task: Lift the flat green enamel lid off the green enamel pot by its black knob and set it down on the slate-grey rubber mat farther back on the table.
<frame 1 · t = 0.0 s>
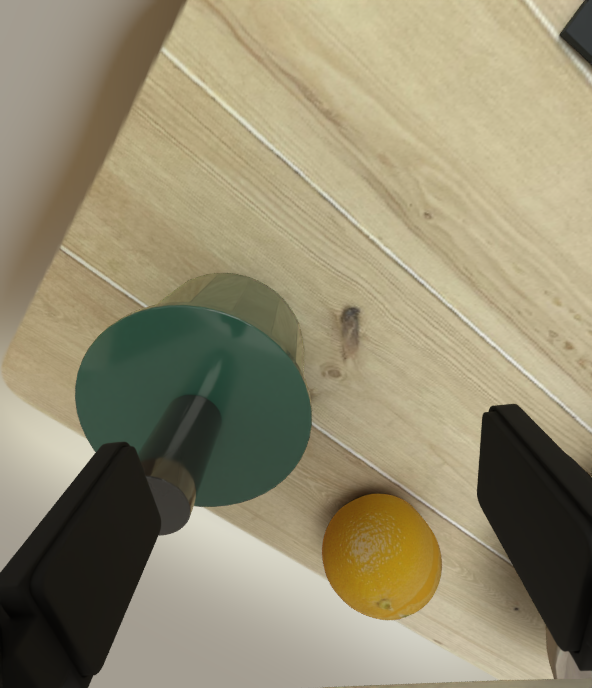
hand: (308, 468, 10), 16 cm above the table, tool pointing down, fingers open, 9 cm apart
pot: (229, 346, 27), on the table
lid: (197, 412, 19), point 8 cm above the table, touching pot
fruit: (370, 509, 33), on the table
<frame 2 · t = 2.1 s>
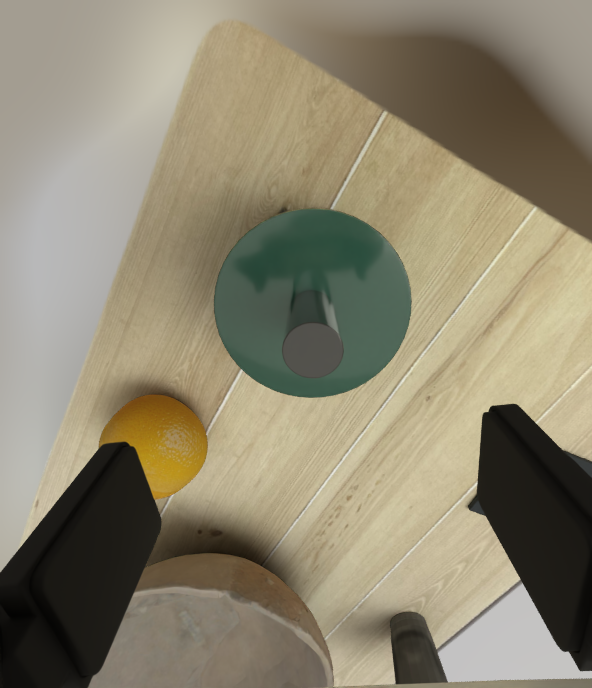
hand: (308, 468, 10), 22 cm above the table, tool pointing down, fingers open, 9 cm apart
mat: (537, 488, 38), on the table
bowl: (222, 582, 45), on the table
lid: (311, 309, 22), point 8 cm above the table, touching pot
fruit: (172, 417, 36), on the table
beverage cup: (407, 621, 47), on the table
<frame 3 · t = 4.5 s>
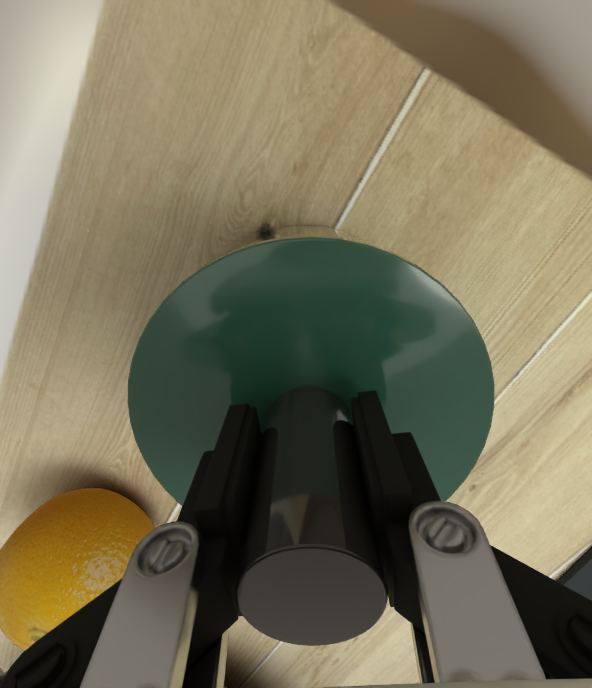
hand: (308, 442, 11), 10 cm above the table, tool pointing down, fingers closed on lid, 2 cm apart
pot: (307, 326, 20), on the table
lid: (308, 413, 12), point 9 cm above the table, touching gripper, pot
fruit: (115, 510, 26), on the table
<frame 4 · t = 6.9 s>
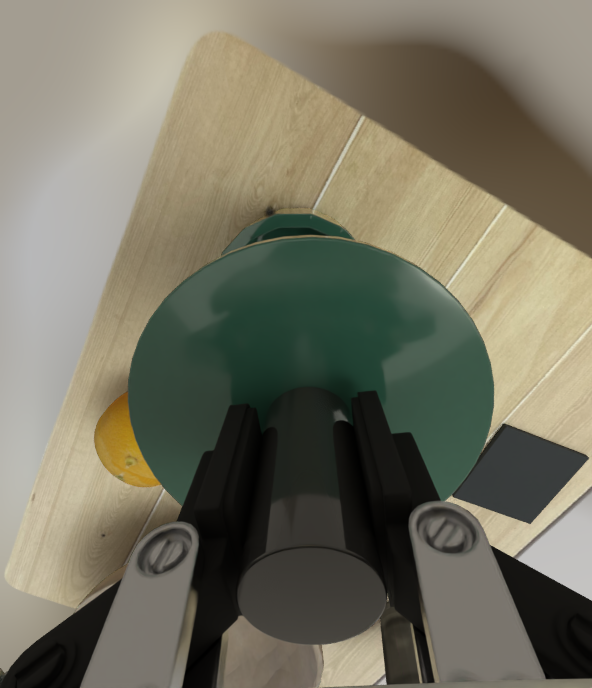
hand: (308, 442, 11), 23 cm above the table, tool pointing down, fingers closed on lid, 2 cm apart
mat: (516, 474, 40), on the table
bowl: (215, 573, 47), on the table
pot: (296, 273, 32), on the table
lid: (308, 413, 12), point 21 cm above the table, touching gripper
fruit: (165, 410, 38), on the table
beverage cup: (396, 609, 49), on the table
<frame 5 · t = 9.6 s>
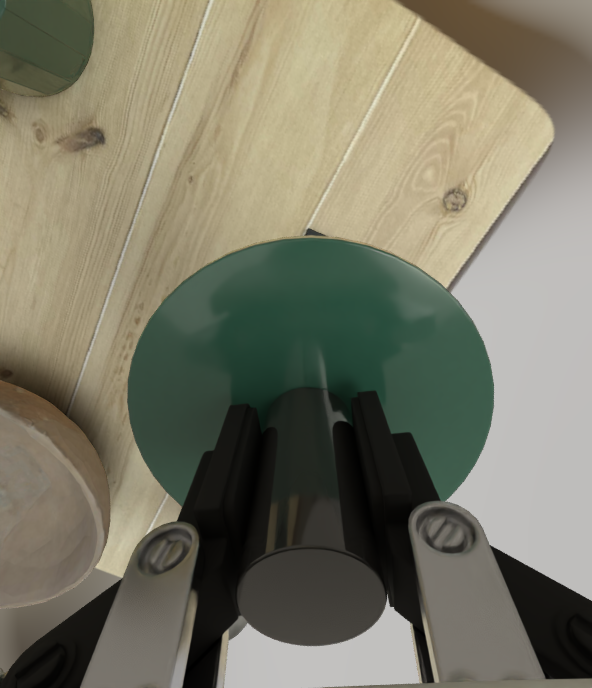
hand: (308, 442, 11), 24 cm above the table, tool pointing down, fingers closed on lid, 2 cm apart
bowl: (30, 441, 42), on the table
pot: (19, 9, 27), on the table
lid: (308, 414, 12), point 23 cm above the table, touching gripper
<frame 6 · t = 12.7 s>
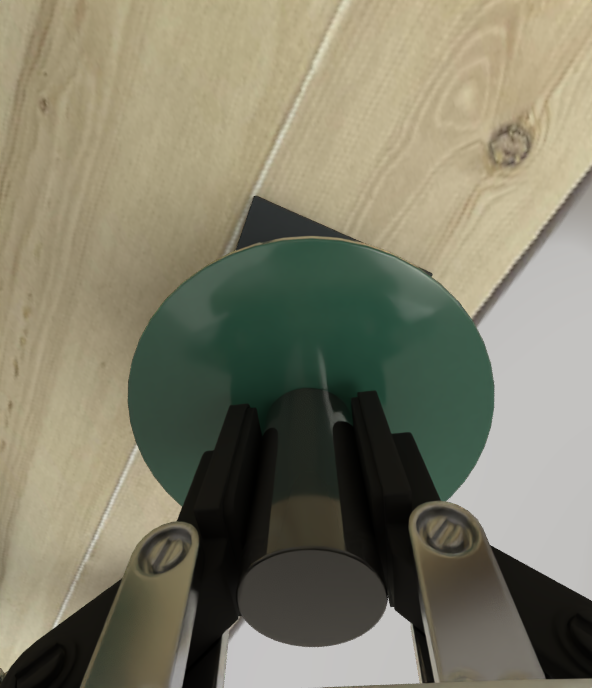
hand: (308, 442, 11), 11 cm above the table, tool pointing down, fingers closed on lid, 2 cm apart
mat: (307, 319, 21), on the table
lid: (308, 414, 12), point 9 cm above the table, touching gripper
when the fingers open (3 cm above the table, at t = 14.8 s): lid stays where it is, resting on mat.
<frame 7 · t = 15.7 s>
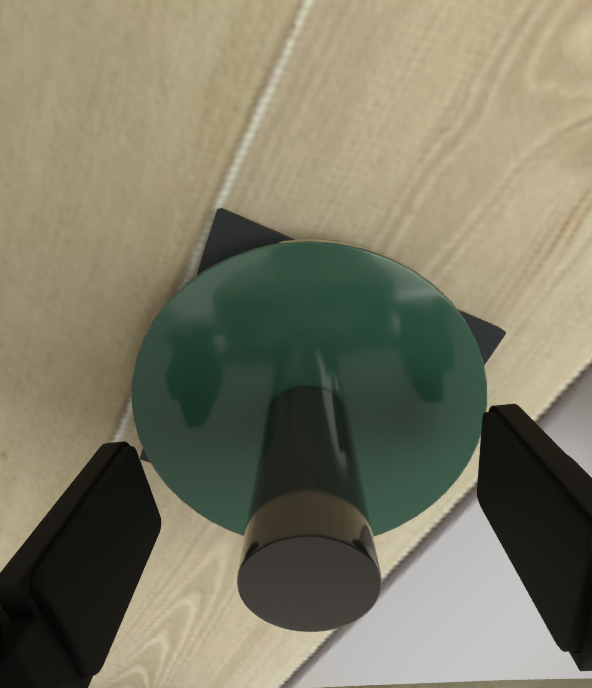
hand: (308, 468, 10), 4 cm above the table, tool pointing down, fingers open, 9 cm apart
mat: (307, 394, 14), on the table
lid: (307, 412, 13), point 1 cm above the table, touching mat
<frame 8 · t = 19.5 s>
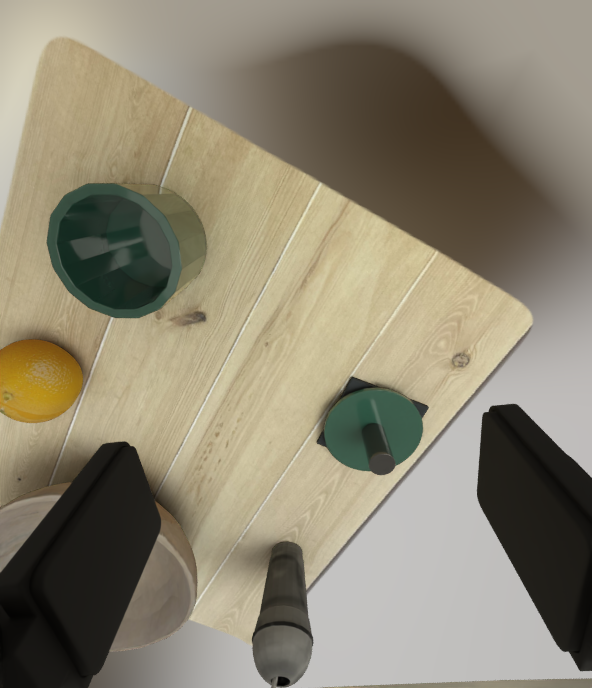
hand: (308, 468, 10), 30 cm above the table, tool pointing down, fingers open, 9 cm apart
mat: (370, 423, 45), on the table
bowl: (122, 516, 53), on the table
pot: (154, 241, 37), on the table
lid: (372, 429, 44), point 1 cm above the table, touching mat
fruit: (59, 363, 43), on the table
beverage cup: (287, 551, 55), on the table
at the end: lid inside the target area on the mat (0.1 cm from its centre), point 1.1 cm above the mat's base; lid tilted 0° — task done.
